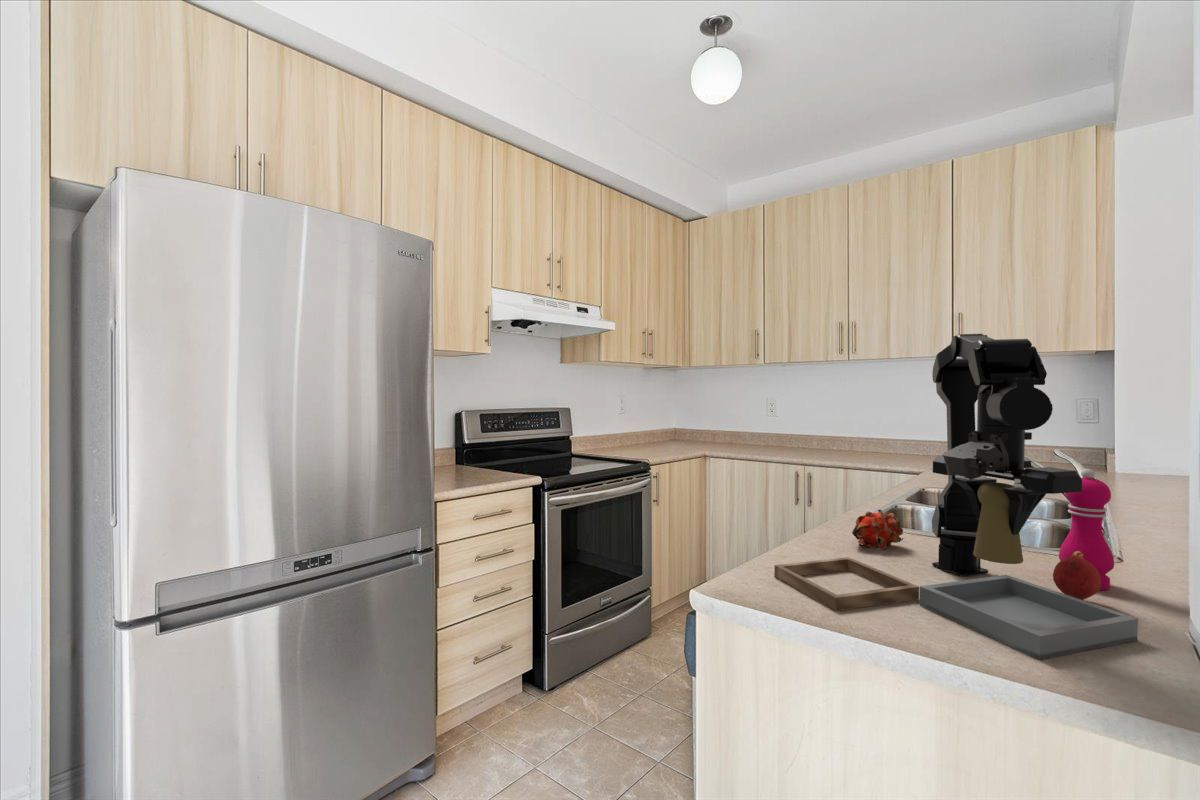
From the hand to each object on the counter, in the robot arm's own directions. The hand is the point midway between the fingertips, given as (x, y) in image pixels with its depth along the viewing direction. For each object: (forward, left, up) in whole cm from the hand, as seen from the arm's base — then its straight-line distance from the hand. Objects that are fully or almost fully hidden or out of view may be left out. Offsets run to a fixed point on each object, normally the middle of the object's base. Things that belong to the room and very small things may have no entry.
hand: (998, 530), depth 82 cm
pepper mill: (-28, -6, -13) cm, 31 cm away
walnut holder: (+13, -17, -13) cm, 25 cm away
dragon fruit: (-10, -34, -13) cm, 38 cm away
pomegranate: (-18, -1, -13) cm, 22 cm away
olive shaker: (0, 0, -4) cm, 4 cm away
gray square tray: (-2, +2, -13) cm, 13 cm away
